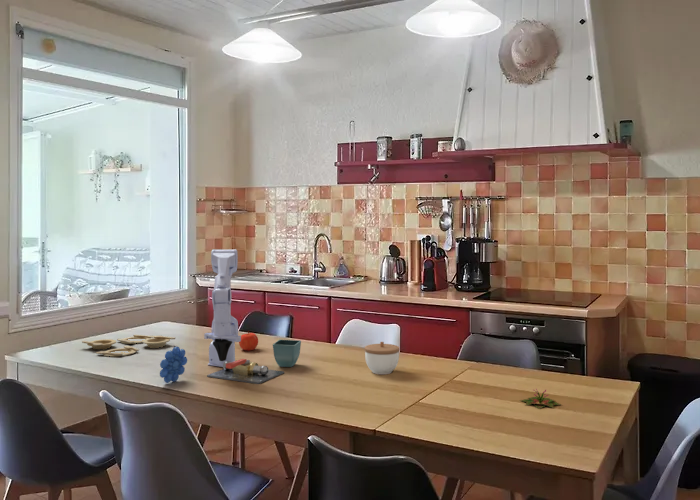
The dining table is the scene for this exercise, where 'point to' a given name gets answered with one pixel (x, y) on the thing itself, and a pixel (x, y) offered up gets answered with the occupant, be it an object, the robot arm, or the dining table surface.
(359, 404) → the dining table surface
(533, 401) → the lily flower
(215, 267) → the robot arm
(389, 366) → the lidded bowl
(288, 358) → the flower pot
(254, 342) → the apple
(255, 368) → the valve body
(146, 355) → the dining table surface
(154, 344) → the tableware set
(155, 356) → the dining table surface
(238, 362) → the lever
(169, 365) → the grapes
